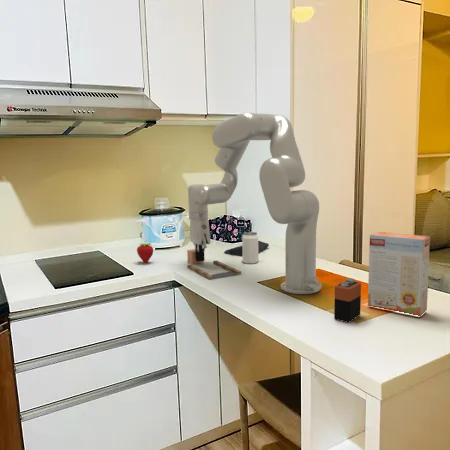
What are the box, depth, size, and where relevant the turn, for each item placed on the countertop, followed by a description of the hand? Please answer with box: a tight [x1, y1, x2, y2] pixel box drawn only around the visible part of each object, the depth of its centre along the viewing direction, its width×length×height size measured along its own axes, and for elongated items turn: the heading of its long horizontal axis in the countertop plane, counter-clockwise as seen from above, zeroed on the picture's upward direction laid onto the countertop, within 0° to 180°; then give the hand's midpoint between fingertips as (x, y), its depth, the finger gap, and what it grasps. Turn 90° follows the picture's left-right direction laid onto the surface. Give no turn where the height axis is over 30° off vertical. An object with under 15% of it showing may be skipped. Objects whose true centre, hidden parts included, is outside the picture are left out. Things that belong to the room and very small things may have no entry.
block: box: [186, 248, 205, 265], centre depth 173 cm, size 5×5×5 cm
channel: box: [186, 260, 242, 281], centre depth 159 cm, size 20×13×1 cm, turn 28°
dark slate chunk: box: [223, 240, 270, 257], centre depth 192 cm, size 15×22×5 cm
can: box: [241, 231, 259, 265], centre depth 170 cm, size 6×6×12 cm
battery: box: [333, 277, 362, 323], centre depth 109 cm, size 4×7×10 cm, turn 137°
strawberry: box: [136, 241, 154, 264], centre depth 173 cm, size 6×8×10 cm
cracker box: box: [367, 231, 431, 316], centre depth 112 cm, size 14×6×21 cm, turn 48°
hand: (200, 260), depth 169 cm, fingers closed
